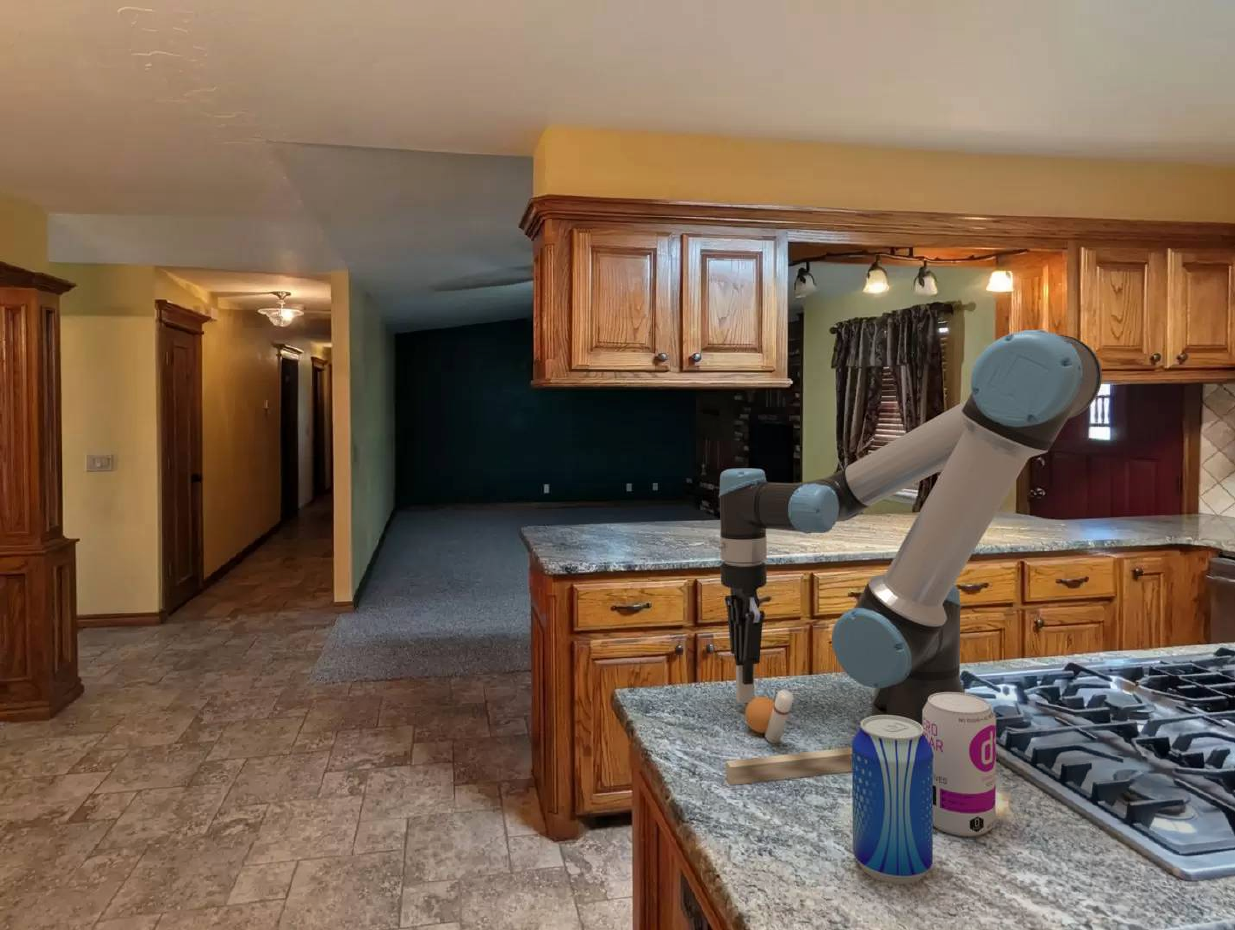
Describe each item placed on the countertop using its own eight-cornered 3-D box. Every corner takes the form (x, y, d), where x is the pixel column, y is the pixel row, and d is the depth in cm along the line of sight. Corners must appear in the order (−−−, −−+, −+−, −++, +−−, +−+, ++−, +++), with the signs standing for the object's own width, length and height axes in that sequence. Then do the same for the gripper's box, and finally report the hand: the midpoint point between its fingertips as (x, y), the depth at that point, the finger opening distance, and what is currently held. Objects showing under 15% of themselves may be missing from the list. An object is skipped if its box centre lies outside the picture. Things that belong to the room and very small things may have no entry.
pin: (783, 736, 127) (796, 695, 122) (776, 746, 125) (789, 705, 120) (769, 727, 128) (781, 687, 123) (761, 737, 126) (774, 696, 121)
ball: (791, 705, 128) (781, 722, 132) (761, 683, 130) (753, 701, 134) (773, 729, 125) (764, 746, 129) (743, 707, 127) (735, 724, 131)
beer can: (939, 891, 86) (939, 743, 85) (856, 884, 88) (855, 739, 87) (925, 849, 95) (925, 713, 93) (850, 843, 96) (849, 710, 95)
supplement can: (1008, 824, 100) (1009, 703, 99) (968, 846, 95) (969, 719, 94) (948, 799, 106) (949, 685, 105) (908, 818, 102) (908, 700, 101)
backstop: (873, 762, 118) (873, 745, 118) (880, 767, 116) (880, 750, 116) (726, 778, 114) (725, 761, 114) (730, 785, 112) (730, 767, 112)
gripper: (709, 556, 142) (712, 689, 144) (734, 570, 129) (736, 716, 131) (751, 553, 144) (753, 686, 145) (779, 567, 131) (781, 712, 133)
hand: (745, 700), depth 138 cm, fingers closed
